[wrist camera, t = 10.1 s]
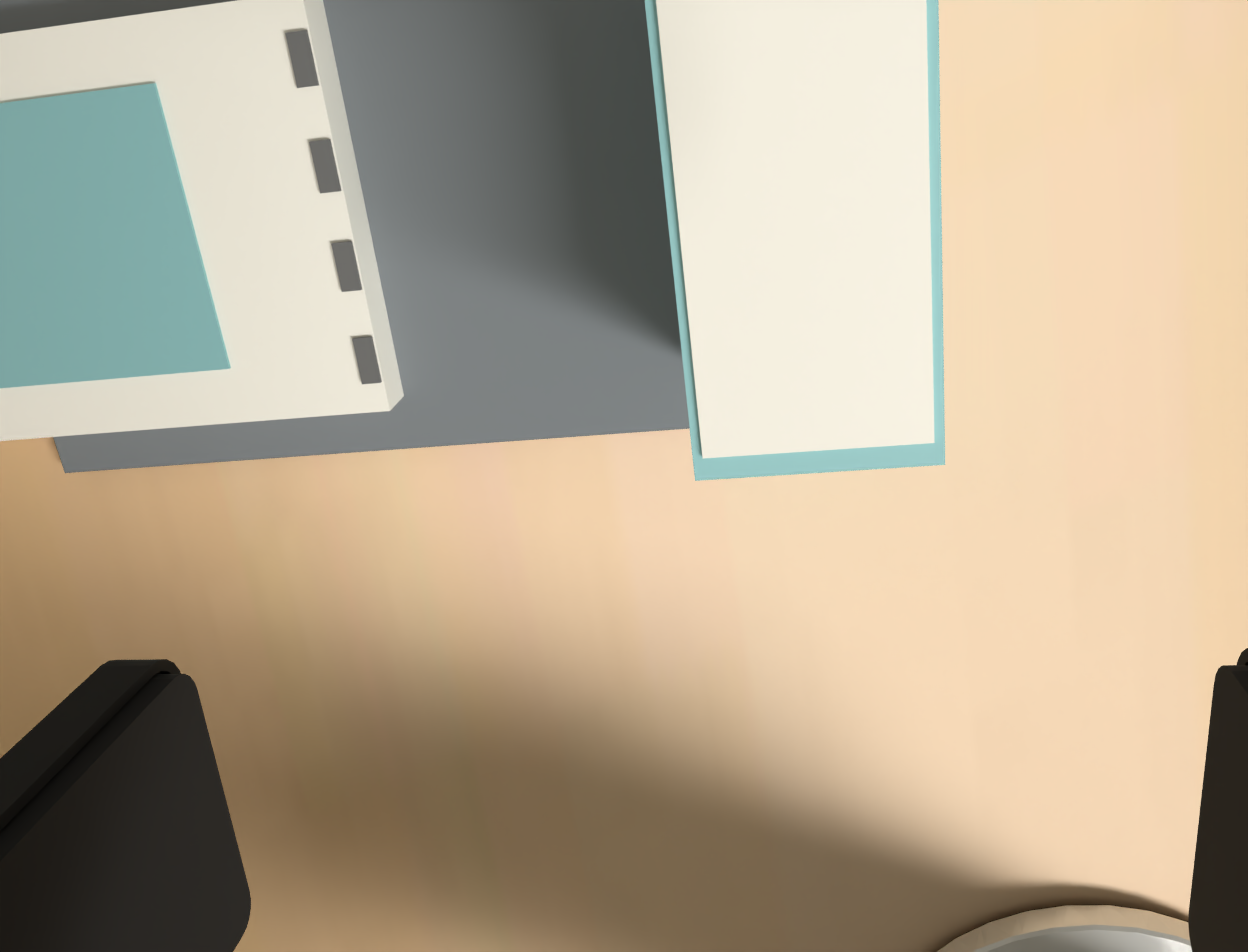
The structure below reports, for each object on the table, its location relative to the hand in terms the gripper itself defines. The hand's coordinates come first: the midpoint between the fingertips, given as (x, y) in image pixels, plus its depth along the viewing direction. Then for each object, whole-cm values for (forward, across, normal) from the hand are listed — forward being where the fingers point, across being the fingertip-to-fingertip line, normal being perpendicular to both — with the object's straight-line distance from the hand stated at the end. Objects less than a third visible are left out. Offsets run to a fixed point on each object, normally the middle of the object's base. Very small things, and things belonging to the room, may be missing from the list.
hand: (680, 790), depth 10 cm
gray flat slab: (+19, +11, -3) cm, 22 cm away
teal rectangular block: (+20, -1, -4) cm, 20 cm away
